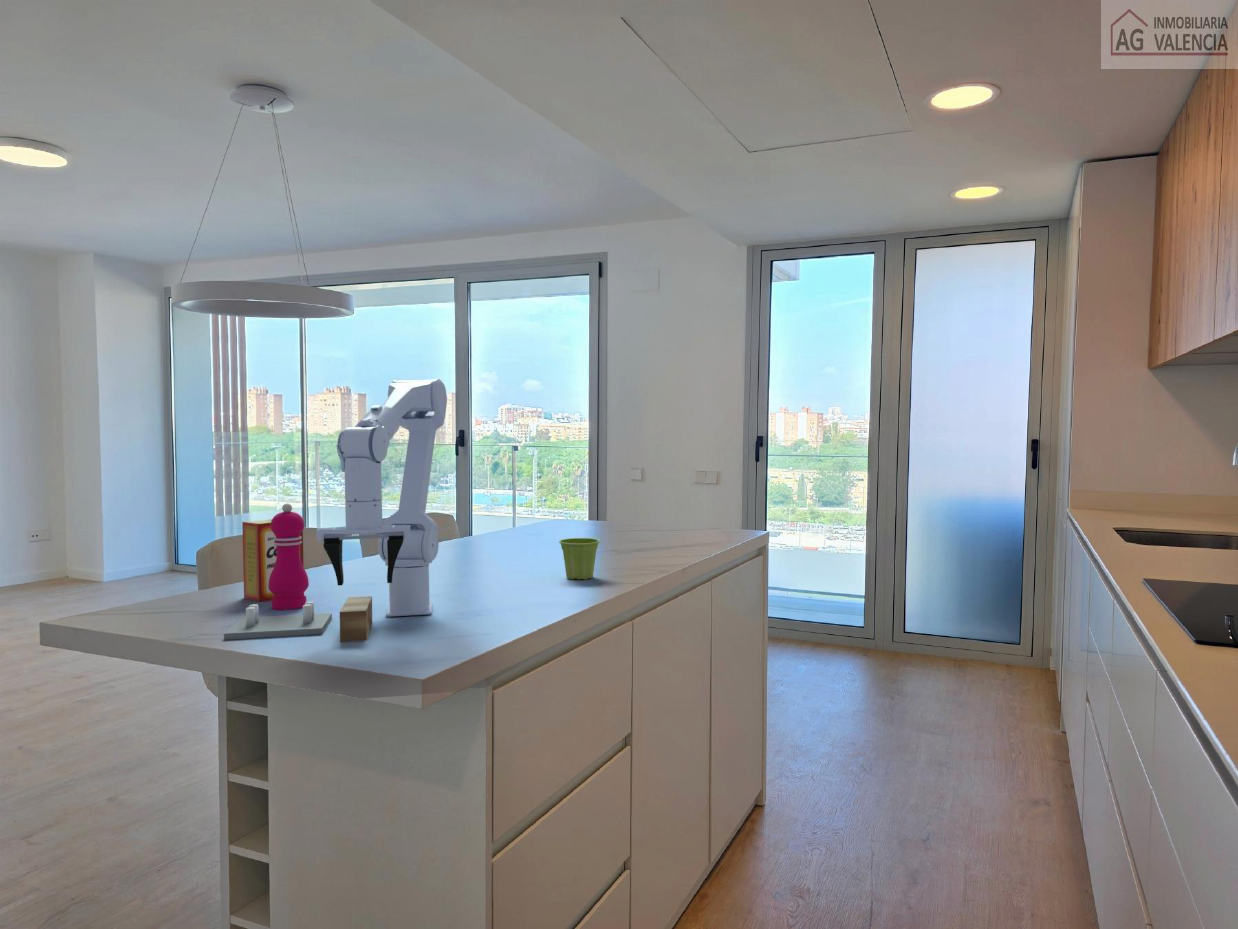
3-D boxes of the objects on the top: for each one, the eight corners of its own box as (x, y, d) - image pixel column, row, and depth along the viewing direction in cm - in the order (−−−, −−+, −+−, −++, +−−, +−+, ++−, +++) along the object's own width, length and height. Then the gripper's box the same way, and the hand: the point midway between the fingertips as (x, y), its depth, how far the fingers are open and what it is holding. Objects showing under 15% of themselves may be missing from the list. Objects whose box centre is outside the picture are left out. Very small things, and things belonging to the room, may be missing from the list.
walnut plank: (348, 626, 138) (347, 597, 138) (372, 624, 139) (371, 596, 139) (340, 643, 126) (339, 612, 126) (366, 641, 127) (365, 610, 127)
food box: (259, 601, 159) (257, 522, 158) (244, 598, 163) (242, 520, 162) (304, 594, 166) (302, 518, 166) (288, 591, 170) (286, 516, 170)
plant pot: (608, 578, 182) (607, 540, 182) (572, 583, 177) (572, 544, 177) (586, 573, 190) (586, 537, 190) (552, 577, 185) (551, 540, 184)
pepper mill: (262, 607, 154) (260, 503, 153) (298, 601, 159) (296, 501, 158) (278, 612, 149) (276, 505, 148) (315, 606, 154) (313, 503, 153)
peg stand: (242, 623, 140) (241, 600, 140) (331, 618, 143) (331, 596, 143) (224, 639, 128) (223, 615, 128) (322, 634, 132) (321, 610, 131)
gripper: (312, 503, 124) (314, 590, 125) (408, 501, 127) (410, 585, 128) (319, 500, 131) (320, 582, 131) (410, 497, 134) (411, 577, 135)
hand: (365, 583), depth 130 cm, fingers open, 7 cm apart
